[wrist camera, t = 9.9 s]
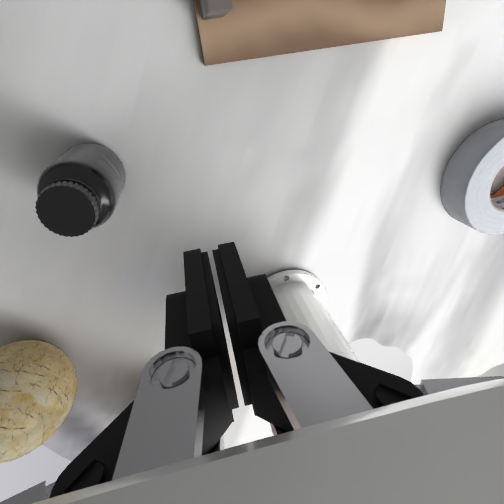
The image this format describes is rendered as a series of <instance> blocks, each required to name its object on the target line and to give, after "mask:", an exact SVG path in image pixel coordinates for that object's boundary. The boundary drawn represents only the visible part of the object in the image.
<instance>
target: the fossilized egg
mask: <svg viewBox="0 0 504 504" xmlns="http://www.w3.org/2000/svg"><path fill="white" fill-rule="evenodd" d="M76 392H77V376H76V372H75V369H74V366H73V364H72V362H71V360H70V359H69V358H68V356H67V355H66V354H65V353H64V352H63V351H62V350H61V349H59V348H58V347H56V346H54V345H52V344H50V343H47V342H43V341H37V340H23V341H17V342H13V343H10V344H6V345H3V346H1V347H0V463H3V462H8V461H12V460H15V459H17V458H19V457H22V456H24V455H26V454H28V453H30V452H31V451H33V450H34V449H36V448H37V447H39V446H40V445H42V444H43V443H44V442H45V441H46V440H48V439H49V438H50V437H51V436H52V435H53V434H54V433H55V432H56V431H57V430H58V428H59V427H60V426H61V425H62V424H63V422H64V421H65V419H66V417H67V416H68V414H69V412H70V410H71V408H72V406H73V403H74V400H75V396H76Z"/></svg>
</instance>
